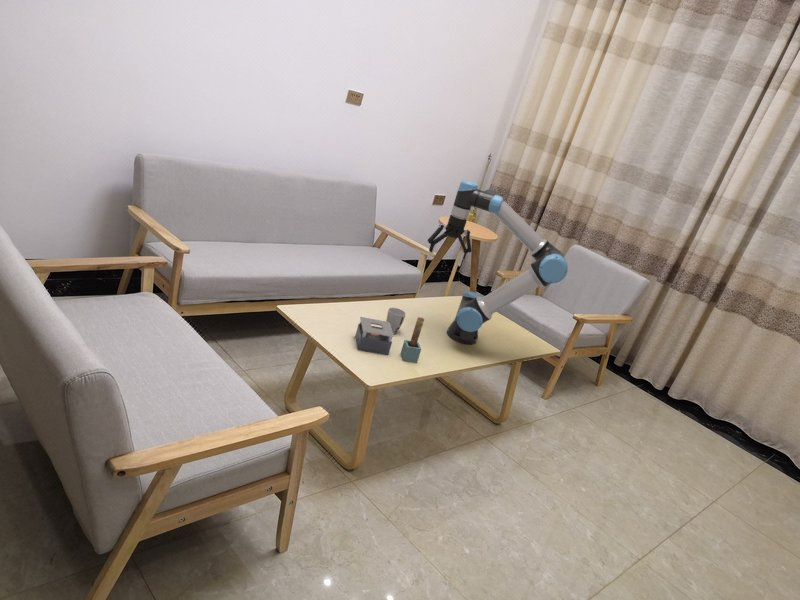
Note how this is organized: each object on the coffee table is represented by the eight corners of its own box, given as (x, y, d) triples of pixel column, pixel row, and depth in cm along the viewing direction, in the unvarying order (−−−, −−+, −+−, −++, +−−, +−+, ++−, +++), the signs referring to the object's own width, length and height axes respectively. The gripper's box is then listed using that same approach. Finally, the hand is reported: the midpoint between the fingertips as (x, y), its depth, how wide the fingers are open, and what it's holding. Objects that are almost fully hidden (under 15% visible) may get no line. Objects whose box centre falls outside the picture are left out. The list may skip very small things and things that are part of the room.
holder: (414, 355, 231) (418, 342, 228) (416, 362, 225) (421, 349, 223) (400, 353, 229) (404, 339, 227) (402, 360, 224) (407, 346, 221)
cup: (398, 337, 244) (404, 317, 240) (381, 331, 245) (386, 311, 241) (401, 330, 251) (407, 311, 248) (385, 325, 252) (390, 306, 249)
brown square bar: (411, 355, 229) (423, 317, 222) (412, 359, 226) (425, 320, 220) (405, 354, 228) (416, 316, 222) (406, 358, 225) (418, 319, 219)
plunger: (376, 338, 230) (378, 330, 229) (377, 342, 227) (379, 334, 225) (368, 337, 229) (370, 329, 228) (369, 341, 226) (371, 332, 225)
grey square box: (384, 340, 236) (389, 322, 233) (388, 355, 225) (394, 335, 221) (355, 335, 233) (360, 316, 230) (357, 350, 221) (363, 330, 218)
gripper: (482, 220, 240) (467, 265, 247) (429, 208, 234) (416, 253, 241) (487, 225, 233) (472, 270, 240) (433, 212, 227) (419, 259, 234)
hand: (444, 262), depth 241 cm, fingers open, 13 cm apart
